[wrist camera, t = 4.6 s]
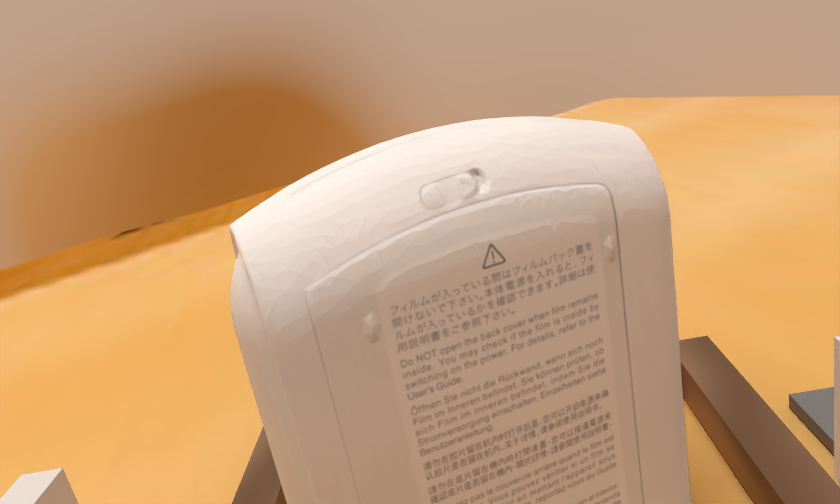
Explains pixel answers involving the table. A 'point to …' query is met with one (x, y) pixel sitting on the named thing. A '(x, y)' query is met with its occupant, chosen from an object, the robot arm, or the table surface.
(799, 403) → the rubber mat
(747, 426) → the walnut frame
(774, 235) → the table surface
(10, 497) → the robot arm
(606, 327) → the photo printer
